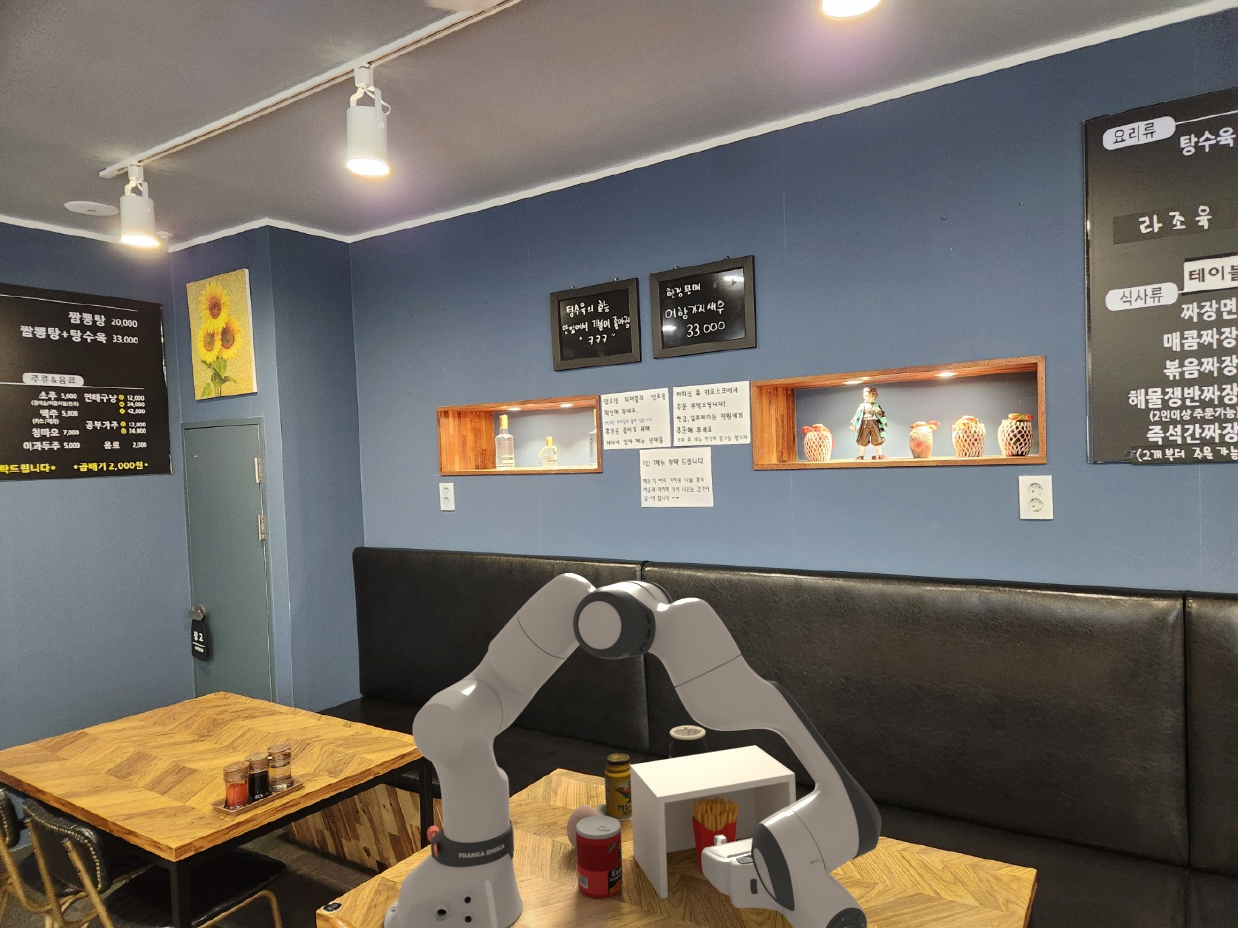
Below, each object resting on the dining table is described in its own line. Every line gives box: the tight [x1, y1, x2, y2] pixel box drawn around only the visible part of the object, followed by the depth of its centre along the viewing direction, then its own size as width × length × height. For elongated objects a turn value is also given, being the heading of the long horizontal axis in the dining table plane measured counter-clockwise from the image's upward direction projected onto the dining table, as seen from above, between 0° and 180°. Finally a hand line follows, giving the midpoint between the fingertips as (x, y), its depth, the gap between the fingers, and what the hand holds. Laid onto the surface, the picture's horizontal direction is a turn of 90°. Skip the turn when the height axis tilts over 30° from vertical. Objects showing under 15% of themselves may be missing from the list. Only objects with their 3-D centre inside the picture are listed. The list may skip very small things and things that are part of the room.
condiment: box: [596, 752, 632, 821], centre depth 161 cm, size 7×8×12 cm
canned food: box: [576, 816, 624, 900], centre depth 132 cm, size 8×8×11 cm
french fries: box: [692, 797, 738, 871], centre depth 138 cm, size 8×4×12 cm, turn 78°
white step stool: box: [630, 744, 797, 899], centre depth 139 cm, size 26×15×17 cm, turn 107°
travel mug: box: [668, 725, 709, 759], centre depth 158 cm, size 8×8×18 cm
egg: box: [566, 804, 600, 850], centre depth 146 cm, size 7×7×8 cm
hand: (743, 833), depth 126 cm, fingers open, 8 cm apart
